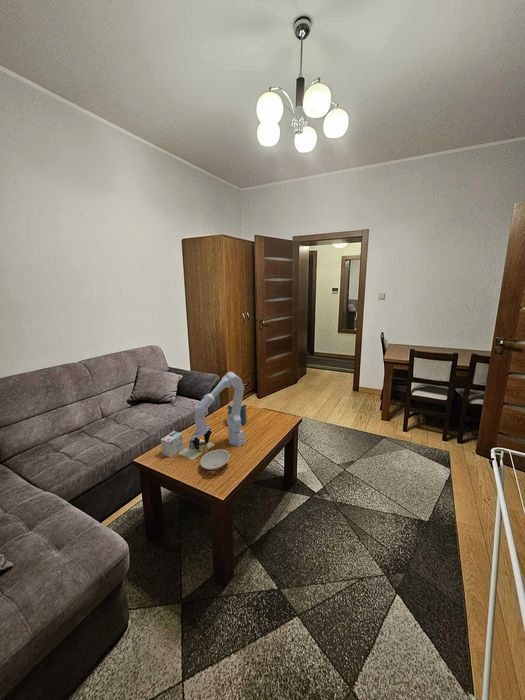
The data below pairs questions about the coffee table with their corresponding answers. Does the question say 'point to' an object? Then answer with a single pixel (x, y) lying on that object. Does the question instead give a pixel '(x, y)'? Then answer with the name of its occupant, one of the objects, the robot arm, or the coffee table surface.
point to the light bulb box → (172, 443)
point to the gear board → (194, 451)
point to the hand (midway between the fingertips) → (202, 445)
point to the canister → (242, 412)
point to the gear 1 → (191, 445)
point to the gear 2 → (202, 447)
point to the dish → (214, 459)
